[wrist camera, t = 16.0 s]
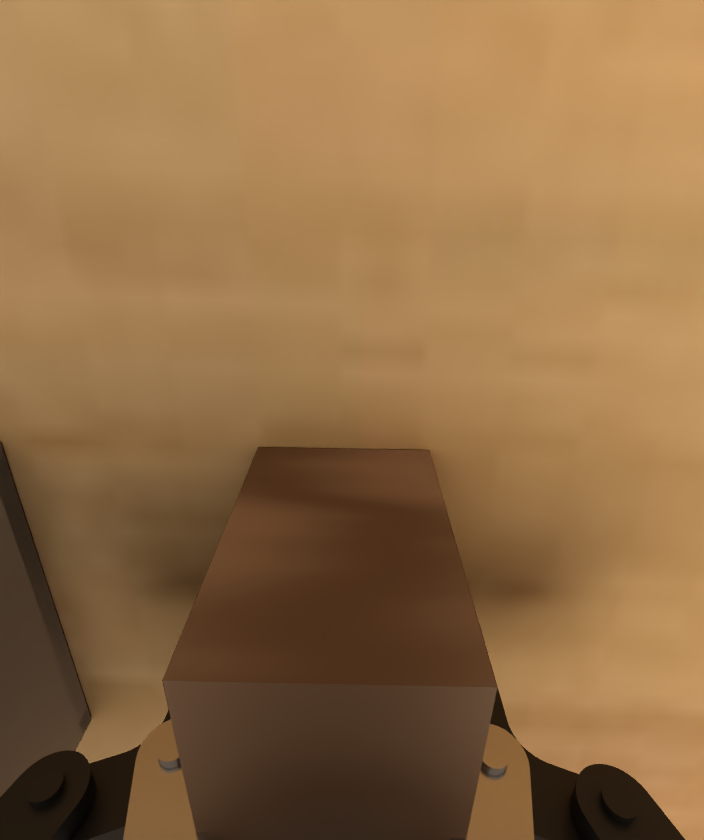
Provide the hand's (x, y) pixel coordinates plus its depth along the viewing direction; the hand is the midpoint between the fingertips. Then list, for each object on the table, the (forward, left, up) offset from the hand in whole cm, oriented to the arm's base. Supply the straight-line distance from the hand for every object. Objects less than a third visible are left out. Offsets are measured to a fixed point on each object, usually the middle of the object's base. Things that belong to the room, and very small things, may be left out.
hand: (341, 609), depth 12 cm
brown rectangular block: (0, 0, -1) cm, 1 cm away
